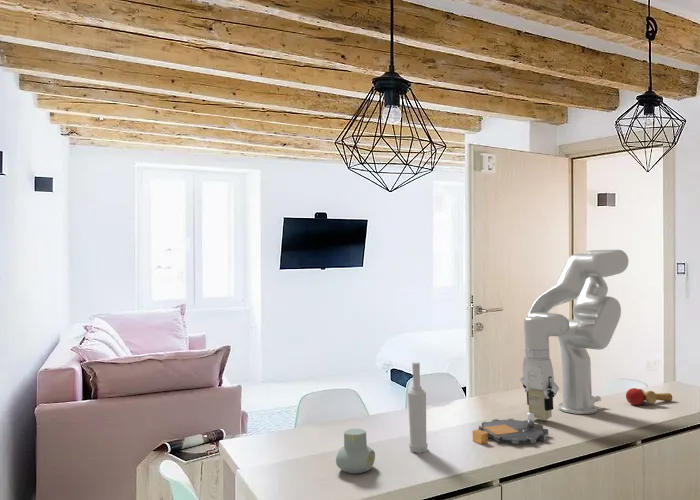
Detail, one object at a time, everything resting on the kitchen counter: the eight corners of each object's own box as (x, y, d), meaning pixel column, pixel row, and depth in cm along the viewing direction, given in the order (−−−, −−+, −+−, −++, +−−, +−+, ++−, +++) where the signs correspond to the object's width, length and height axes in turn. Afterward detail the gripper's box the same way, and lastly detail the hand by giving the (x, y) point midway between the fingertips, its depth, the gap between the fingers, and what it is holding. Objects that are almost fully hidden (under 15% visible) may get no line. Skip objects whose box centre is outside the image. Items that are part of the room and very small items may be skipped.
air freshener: (349, 460, 152) (348, 424, 152) (377, 464, 149) (376, 426, 149) (333, 475, 142) (332, 436, 142) (363, 479, 139) (362, 439, 139)
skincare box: (528, 417, 183) (526, 380, 183) (534, 413, 187) (532, 377, 187) (547, 420, 179) (545, 382, 179) (552, 416, 182) (550, 379, 182)
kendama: (658, 401, 207) (618, 399, 202) (662, 385, 206) (622, 383, 201) (675, 410, 199) (634, 408, 194) (679, 394, 198) (638, 391, 194)
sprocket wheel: (522, 419, 182) (521, 403, 182) (563, 438, 162) (562, 420, 162) (466, 426, 176) (466, 410, 176) (502, 447, 156) (501, 428, 157)
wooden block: (513, 430, 174) (513, 420, 174) (530, 436, 168) (529, 426, 168) (469, 439, 166) (469, 429, 166) (484, 446, 160) (484, 435, 160)
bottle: (427, 447, 161) (424, 361, 161) (428, 453, 156) (425, 364, 156) (409, 446, 161) (406, 361, 162) (409, 453, 156) (406, 364, 156)
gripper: (510, 351, 189) (513, 403, 189) (548, 359, 173) (551, 415, 173) (527, 348, 192) (529, 399, 192) (566, 356, 177) (569, 411, 177)
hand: (540, 406), depth 183 cm, fingers closed on skincare box, 7 cm apart
